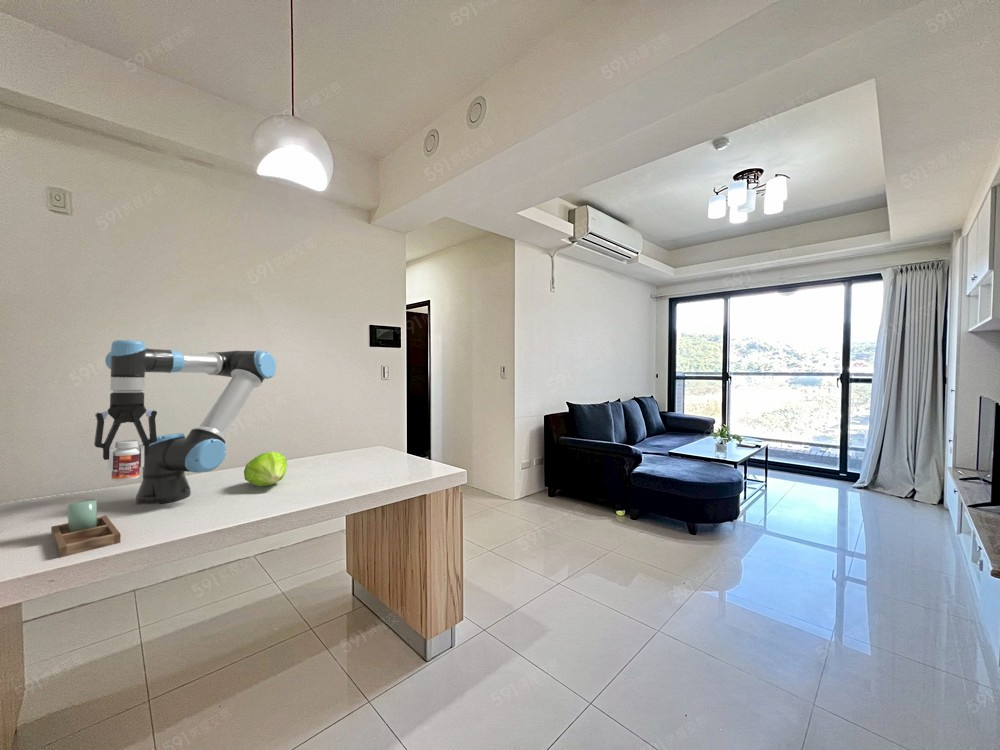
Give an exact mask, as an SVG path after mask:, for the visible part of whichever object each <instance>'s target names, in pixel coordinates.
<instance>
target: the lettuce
mask: <svg viewBox="0 0 1000 750" xmlns="http://www.w3.org/2000/svg"><path fill="white" fill-rule="evenodd" d="M287 461H288V460H287V458H286V457H285V456H284V454H283V453H280V452H278V451H269V452H264V453H261V454H259V455H256V456H255V457H254V458H252V459H251V460H250V461H249V462H247V463H246V464H245V466H244V470H243V476H244V480H245V481H247V482H249V483H250V484H252V485H254V486H256V487H260V488H261V487H267V486H272V485H274V484H275V483H278V482H279V481H281V480H283V479H284V477H285V475H286V473H287V470H288V469H287V468H288V462H287Z"/></svg>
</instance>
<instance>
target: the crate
mask: <svg viewBox="0 0 1000 750" xmlns="http://www.w3.org/2000/svg"><path fill="white" fill-rule="evenodd" d="M50 527H51V528H50V531H51V532H50V533H51V534H50V535H51V539H52V540H53V541H52V542H53V544H54V546H55V548H56V551H57V555H58V557H59V559H60V558H65V557H68V556H72V555H73V556H74V555H76V554H80V553H84V552H88V551H94V550H97V549H100V548H105V547H108V546H112V545H113V546H114V545H116V544H120V543H121V532H120V531H119V530H118V528H117V527H116V526H115V525H114V523H112V521H111V519H110V518H109V517H108V516H107V515H102V516H97V527H95V528H90V529H85V530H81V531H76V532H72V533H68V522H67V523H63V524H58V525H52V526H50Z"/></svg>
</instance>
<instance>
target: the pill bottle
mask: <svg viewBox="0 0 1000 750" xmlns="http://www.w3.org/2000/svg"><path fill="white" fill-rule="evenodd" d="M139 442H140V441H139V440H137V439H136V440H135V439H134V440H133V439H131V440H130V439H127V440H120V441H119V440H118V441H115V446H114V449H115V450H113V471H111V480H112V481H113V482H124V481H125V482H126V481H133V480H136V479H138V478H140V471H141V470H140V468H141V467H140V450H139V445H140V444H139Z"/></svg>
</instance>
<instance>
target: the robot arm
mask: <svg viewBox="0 0 1000 750" xmlns="http://www.w3.org/2000/svg"><path fill="white" fill-rule="evenodd" d="M104 361H105V365H106V367H107V368H108V369H109V370H110V391H112V392H111V393H110V394H109V402H110V403H109V408H107V410H106V411H103V412H95V414H94V416H95V419H96V428H95V435H94V436H95V437H94V443H93V444H94V447H95V448H100V449H102V459H103V460H104V461H106V460H107V471H108V472H112V471H113V452H114V448H113V447H111V446H112V443H113V441H114V439H115V437H116V435H117V432H118V430H119V429H120V426H121V424H125V423H132V424H133V425H134V426H135V429H136V431H137V433H138V437H139V438H140V440H141V442H142V443H141V444H139V446H138V449H139V450H140V468H142V480H141V484H140V486H139V488H138V491H137V493H136V497H135V503H136V504H137V505H142V504H143V505H149V504H150V505H151V504H152V505H153V504H159V505H161V504H167V503H173V502H176V501H180V500H184V499H185V498H188V497H190V496H191V494H192V493H191V492H192V491H191V489H192V488H191V486H190V484H189V481H188V479H187V477H186V475H185V474H186V473H185V472H191V473H207V472H210V471H213V470H216V469H217V468H218V467H220V465H221V464H223V461H224V460H225V458H226V456H227V455H226V454H227V452H226V451H227V446H226V445H225V444H226V441H227V440H226V438H225V436H226V434H227V433H228V430H230V428H231V426H232V424H233V422H234V421H235V420H236V418H237V416H238V415H239V413H240V411H241V410H242V408H243V407H244V405H245V404H246V401H247V400H248V398H249V396H250V395H251V393H252V392H253V390H254V389H255V388H259V387H260V386H261V385H262V383H263V382H264V380H266V379H267V380H269V379H271V378H272V377H274V376H275V374H276V372H277V365H276V364H277V363H276V360H275V358H274V356H273V354H272V353H270V352H268V351H265V350H230V351H209V352H207V353H193V352H180V351H179V350H173V349H162V348H161V349H159V348H157V349H155V348H147V347H146V343H145V342H144V341H140V340H126V339H125V340H123V339H117V340H114V341H112V343H111V348H110V351H109V352H108V353H107V354H106V355H105V359H104ZM146 373H165V374H172V373H192V374H193V373H194V374H196V373H199V374H201V373H202V374H203V373H204V374H207V375H209V376H220V377H227V378H228V377H229V378H231V379H230V380H229V382H228V383H227V385H226V387H225V388H224V389H223V391H222V392H221V394H220V395H219V397H218V398H217V400H216V401H215V403H214V404H213V406H212V407H211V409H210V410H209V411H208V414H206V416H205V418H204V419H203V420H202V422H201V423H200V425H199V427H195V428H192V429H191V430H190V431H189V433H188V434H187V436H185V434H184V433H182V432H177V433H170V434H164V435H157V426H156V417H157V415H158V411H157V410H154V409H152V410H151V409H147V408H146V406H145V393H144V392H143V391H144V390H145V375H146ZM144 414H146V417H148V419H147V420H148V431H149V437H148V436H147V434H146V432H145V430H144V427H143V425H142V422H141V418H142V417H143V416H144ZM108 416H110V417H111V418H112V420H113V422H112V425H111V427H110V429H109V432H108V433H107V436H106V438H105V440H104V442H103V437H104V436H103V434H104V426H105V420H106V419H108V418H107V417H108Z"/></svg>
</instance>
